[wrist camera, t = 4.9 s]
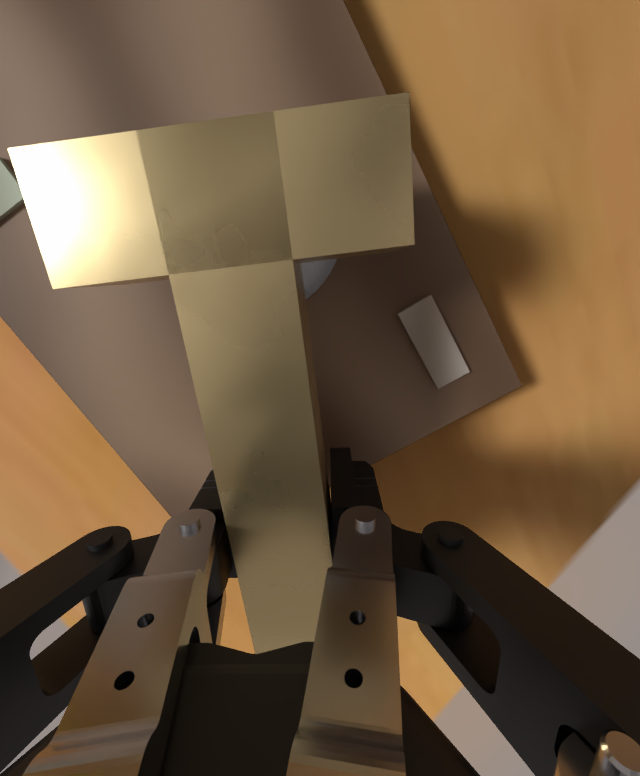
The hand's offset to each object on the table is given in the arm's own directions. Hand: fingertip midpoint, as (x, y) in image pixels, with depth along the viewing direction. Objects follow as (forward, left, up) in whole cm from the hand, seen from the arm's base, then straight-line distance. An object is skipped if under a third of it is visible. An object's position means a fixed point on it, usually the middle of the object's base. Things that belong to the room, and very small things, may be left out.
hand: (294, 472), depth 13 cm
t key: (-2, -3, -1) cm, 3 cm away
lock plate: (-1, -7, -2) cm, 8 cm away
